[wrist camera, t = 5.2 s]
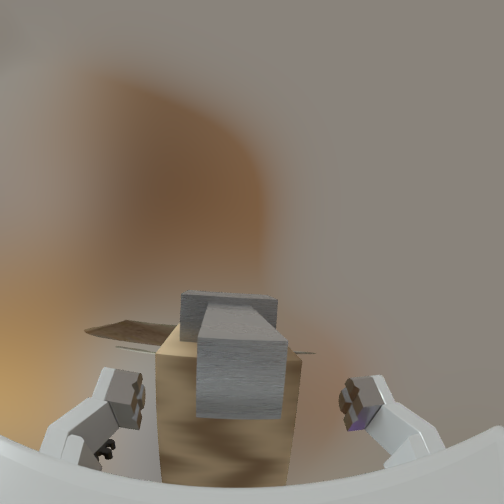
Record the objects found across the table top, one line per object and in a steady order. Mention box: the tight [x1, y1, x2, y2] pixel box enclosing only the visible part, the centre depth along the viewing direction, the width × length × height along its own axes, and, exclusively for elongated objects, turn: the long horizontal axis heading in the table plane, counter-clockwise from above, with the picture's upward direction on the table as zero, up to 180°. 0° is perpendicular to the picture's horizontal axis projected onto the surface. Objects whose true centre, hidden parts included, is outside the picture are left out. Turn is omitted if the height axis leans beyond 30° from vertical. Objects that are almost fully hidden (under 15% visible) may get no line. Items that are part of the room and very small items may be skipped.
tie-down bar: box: [179, 290, 288, 420], centre depth 18 cm, size 7×17×4 cm, turn 6°
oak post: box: [155, 323, 302, 488], centre depth 22 cm, size 9×12×27 cm
